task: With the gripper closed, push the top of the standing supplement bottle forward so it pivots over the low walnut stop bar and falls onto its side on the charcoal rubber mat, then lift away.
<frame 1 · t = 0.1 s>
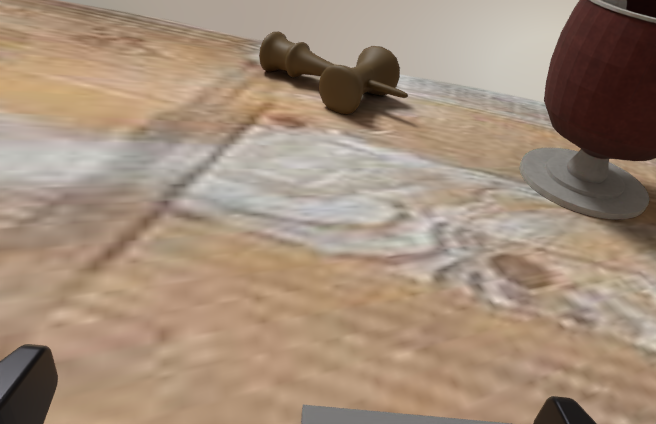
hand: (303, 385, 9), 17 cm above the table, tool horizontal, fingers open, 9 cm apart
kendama: (330, 95, 64), on the table
mate gourd: (572, 181, 53), on the table
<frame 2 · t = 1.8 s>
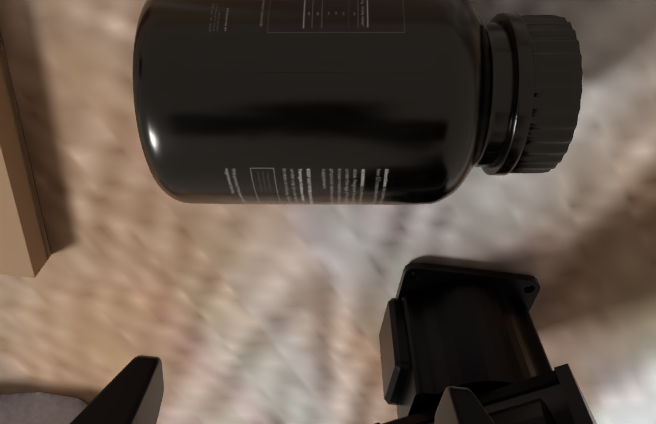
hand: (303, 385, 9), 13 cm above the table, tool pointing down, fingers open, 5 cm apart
supplement bottle: (162, 94, 17), point 3 cm above the table
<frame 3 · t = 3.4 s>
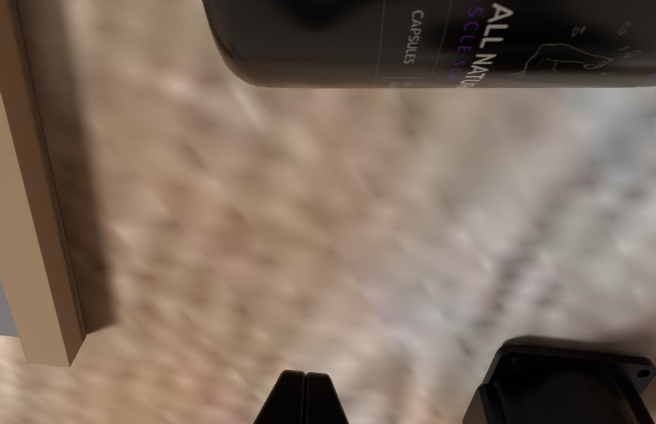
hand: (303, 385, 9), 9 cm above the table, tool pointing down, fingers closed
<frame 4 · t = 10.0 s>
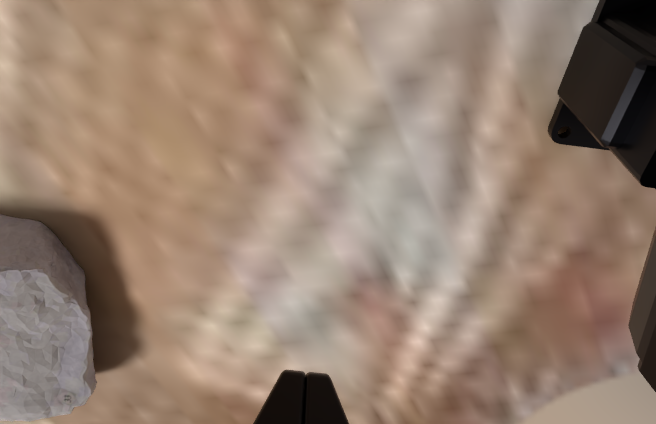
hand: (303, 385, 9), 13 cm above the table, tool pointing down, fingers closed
stone block: (17, 299, 27), on the table
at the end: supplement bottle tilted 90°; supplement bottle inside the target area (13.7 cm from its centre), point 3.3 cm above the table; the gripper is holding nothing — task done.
